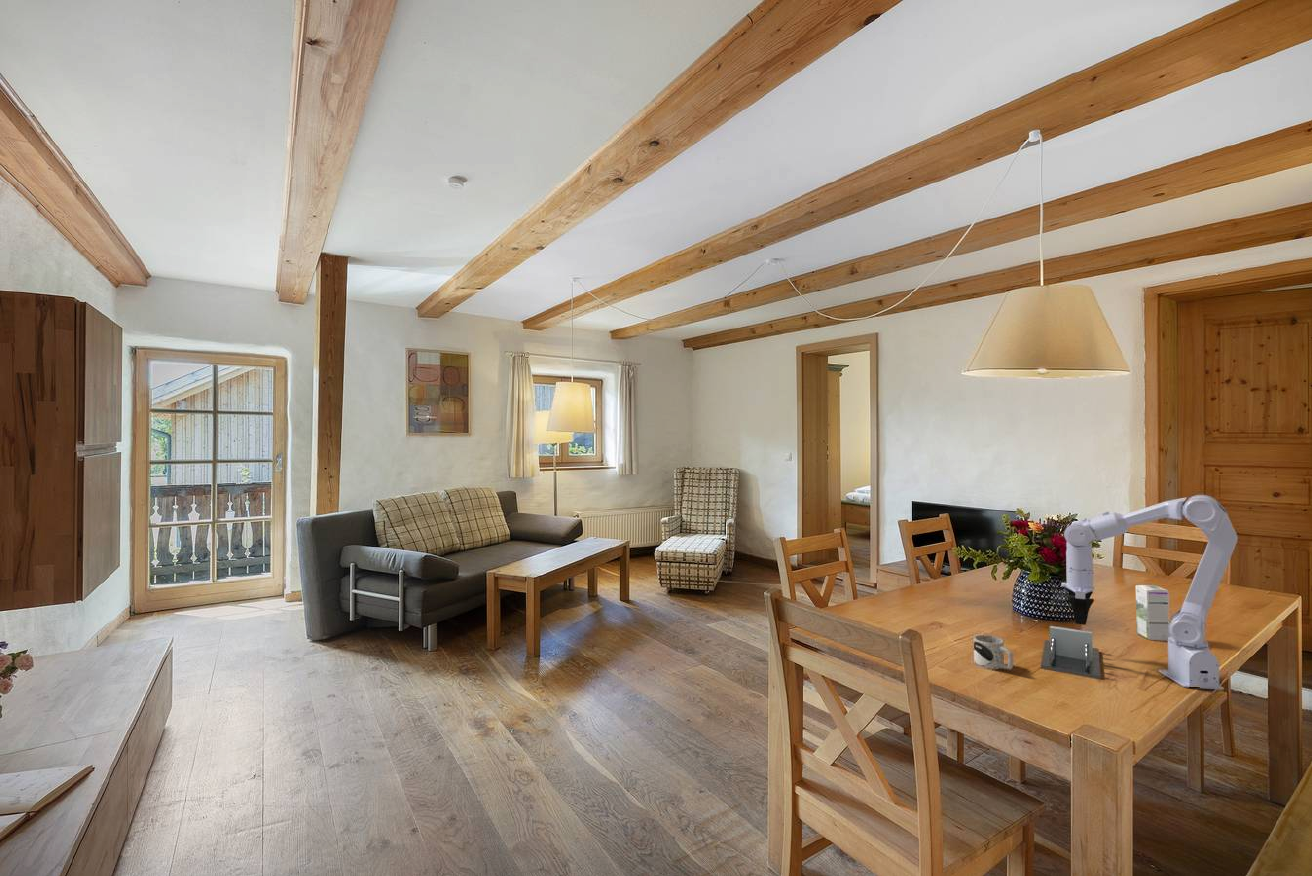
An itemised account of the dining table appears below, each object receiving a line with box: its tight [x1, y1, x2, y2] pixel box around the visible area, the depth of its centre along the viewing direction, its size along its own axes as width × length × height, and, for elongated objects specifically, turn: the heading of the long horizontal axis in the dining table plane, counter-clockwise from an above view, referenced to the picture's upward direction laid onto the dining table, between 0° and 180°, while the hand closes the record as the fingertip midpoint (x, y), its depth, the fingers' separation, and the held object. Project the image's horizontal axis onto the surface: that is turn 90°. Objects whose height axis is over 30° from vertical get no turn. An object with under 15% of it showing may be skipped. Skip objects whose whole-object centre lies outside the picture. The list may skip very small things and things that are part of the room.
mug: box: [973, 634, 1015, 671], centre depth 148 cm, size 10×7×7 cm
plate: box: [1049, 625, 1093, 661], centre depth 152 cm, size 2×9×7 cm, turn 54°
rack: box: [1040, 638, 1102, 680], centre depth 152 cm, size 22×12×5 cm, turn 144°
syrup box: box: [1135, 584, 1171, 642], centre depth 168 cm, size 6×6×14 cm
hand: (1080, 620), depth 154 cm, fingers open, 7 cm apart
